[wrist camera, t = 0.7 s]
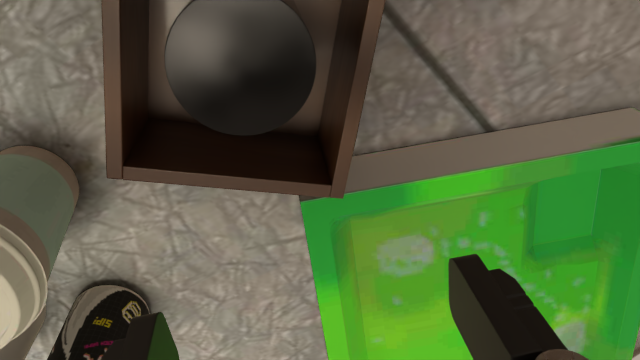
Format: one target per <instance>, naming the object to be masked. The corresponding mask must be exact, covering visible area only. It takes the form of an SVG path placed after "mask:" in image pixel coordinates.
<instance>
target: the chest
mask: <svg viewBox="0 0 640 360" xmlns="http://www.w3.org/2000/svg"><path fill="white" fill-rule="evenodd" d="M189 1H190V0H102V33H103V67H104V100H105V134H106V168H107V178H111V179H123V180H133V181H144V182H155V183H167V184H178V185H190V186H201V187H213V188H224V189H236V190H247V191H258V192H270V193H281V194H293V195H304V196H316V197H327V198H329V197H330V198H339V199H343V198H344V193H345V188H346V184H347V179H348V174H349V169H350V165H351V160H352V155H353V151H354V146H355V141H356V136H357V132H358V127H359V122H360V118H361V113H362V108H363V103H364V99H365V94H366V89H367V85H368V80H369V75H370V71H371V66H372V61H373V56H374V52H375V47H376V42H377V38H378V33H379V28H380V23H381V19H382V14H383V9H384V5H385V0H294V2H295V4H296V6H297V8H298V10H299V12H300V14H301V16H302V18H303V20H304V22H305V24H306V26H307V28H308V31H309V33H310V35H311V37H312V40H313V44H314V47H315V53H316V66H317V67H316V76H315V81H314V85H313V88H312V90H311V93H310V95H309V97H308V99H307V101H306V102H305V104H304V105H303V107H302V108H301V109H300V110H299V112H298V113H297V114H296V115H295V116H294V117H293V118H291V119H290V120H289V121H288V122H286V123H285V124H283V125H282V126H280V127H278V128H276V129H274V130H272V131H268V132H265V133H262V134H257V135H249V136H238V135H230V134H225V133H222V132H218V131H216V130H213V129H211V128H208V127H207V126H205V125H203V124H201V123H200V122H198V121H197V120H196V119H194V118H193V117H192V116H191V115H190V114H189V113H188V112H187V111H186V110H185V109H184V108H183V107H182V106H181V104H180V103H179V102H178V100H177V99H176V97H175V96H174V94H173V92H172V90H171V87H170V85H169V82H168V79H167V76H166V70H165V61H164V54H165V45H166V41H167V36H168V34H169V31H170V29H171V26H172V25H173V23H174V21H175V19H176V18H177V16H178V15H179V14H180V13H181V11H182V10H183V9H184V7H185V6H186V5H187V4H188V2H189Z"/></svg>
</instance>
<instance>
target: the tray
mask: <svg viewBox="0 0 640 360" xmlns="http://www.w3.org/2000/svg"><path fill="white" fill-rule="evenodd" d="M299 198H300V204H301V210H302V215H303V221H304V226H305V232H306V237H307V243H308V248H309V254H310V259H311V265H312V271H313V276H314V282H315V287H316V293H317V298H318V304H319V309H320V315H321V320H322V326H323V331H324V337H325V342H326V348H327V353H328V359H329V360H473V358H472V356H471V354H470V352H469V350H468V348H467V346H466V344H465V342H464V340H463V338H462V336H461V334H460V332H459V330H458V328H457V326H456V324H455V322H454V320H453V317H452V314H451V310H450V305H449V271H448V263H449V259H450V258H455V257H461V256H466V255H471V254H477V255H478V256H479V257H480V258H481V260H482V261H483V263H484V264H485V266H486V267H487V269H488V270H493V269H498V268H500V269H501V270H503V271H504V272H506V273H507V274H509V275H510V276H512V277H513V278H515V279H516V280H517V282H518V283H519V284H520V286H521V287H522V288H523V290H524V291H525V292H526V295H528V296H529V298H530V299H531V301H532V302H533V303H534V306H535V307H537V309H538V310H539V311H540V313H541V314H542V315H543V317H544V318H545V320H546V321H547V322H548V324H549V325H550V326H551V328H552V329H553V330H554V332H555V333H556V334H557V336H558V337H559V339H560V340H561V341H562V343H563V344H564V345H565V347H566V348H567V349H568V350H570V351H573V352H576V353H578V354H580V355H583V356H584V357H586V358H587V359H589V360H632V356H633V351H634V347H635V343H636V338H637V334H638V330H639V326H640V111H638V110H636V109H634V108H626V109H620V110H615V111H609V112H603V113H598V114H592V115H586V116H581V117H575V118H569V119H563V120H558V121H552V122H546V123H541V124H535V125H529V126H523V127H518V128H512V129H506V130H501V131H495V132H489V133H483V134H478V135H472V136H466V137H461V138H455V139H449V140H443V141H438V142H432V143H426V144H421V145H415V146H409V147H404V148H398V149H392V150H386V151H381V152H375V153H369V154H364V155H358V156H352V160H351V165H350V169H349V174H348V179H347V184H346V188H345V193H344V198H343V199H339V198H330V197H329V198H327V197H316V196H304V195H299Z"/></svg>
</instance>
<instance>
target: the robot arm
mask: <svg viewBox="0 0 640 360" xmlns="http://www.w3.org/2000/svg"><path fill="white" fill-rule="evenodd" d="M448 271H449V305H450V310H451V314H452V317H453V320H454V322H455V324H456V326H457V328H458V330H459V332H460V334H461V336H462V338H463V340H464V342H465V344H466V346H467V348H468V350H469V352H470V354H471V356H472V358H473V360H589V359H587V358H586V357H584V356H583V355H580V354H578V353H576V352H573V351H570V350H568V349H567V348H566V347H565V345H564V344H563V343H562V341H561V340H560V339H559V337H558V336H557V334H556V333H555V332H554V330H553V329H552V328H551V326H550V325H549V324H548V322H547V321H546V320H545V318H544V317H543V315H542V314H541V313H540V311H539V310H538V309H537V307H535V306H534V303H533V302H532V301H531V299H530V298H529V296H528V295H526V292H525V291H524V290H523V288H522V287H521V286H520V284H519V283H518V282H517V280H516V279H515V278H513V277H512V276H510V275H509V274H507V273H506V272H504V271H503V270H501V269H500V268H498V269H493V270H488V269H487V267H486V266H485V264H484V263H483V261H482V260H481V258H480V257H479V256H478V255H477V254H471V255H466V256H461V257H455V258H450V259H449V263H448ZM101 360H179V355H178V351H177V348H176V346H175V343H174V340H173V338H172V335H171V332H170V330H169V327H168V325H167V322H166V319H165V317H164V315H163V313H161V312H158V313H153V314H147V315H142V316H137V317H133V318H132V319H131V321H130V324H129V328H128V331H127V334H126V338H124V339H119V340H114V342H113V343H112V344H111V346H110V347H109V348H108V349H107V351H106V352H105V353H104V355H103V356H102V357H101Z"/></svg>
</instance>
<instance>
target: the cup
mask: <svg viewBox="0 0 640 360" xmlns="http://www.w3.org/2000/svg"><path fill="white" fill-rule="evenodd" d="M45 317H46V305H44V308H43V310H42V311H41V313H40V315H39V316H38V317H37V319H36V320H35V321H34V322H33V323H32V324H31V325H30V326H29V328H28V329H27V330H26V331H25V332H23V333H22V334H21V335H19V336H18V337H17V338H15V339H13V340H11V341H10V342H9V343H8V344H7V345H6V346H4V347H3V348H2V349H0V360H24V359H25V357H26V356H27V354H28V352H29V350H30V348H31V346H32V344H33V342H34V340H35V338H36V336H37V334H38V333H39V331H40V329H41V327H42V325H43V323H44V321H45Z"/></svg>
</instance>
